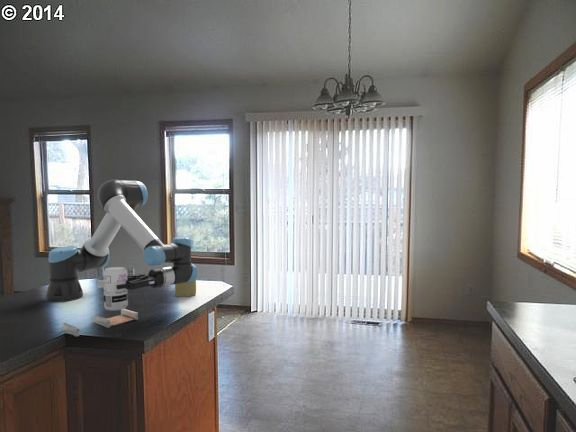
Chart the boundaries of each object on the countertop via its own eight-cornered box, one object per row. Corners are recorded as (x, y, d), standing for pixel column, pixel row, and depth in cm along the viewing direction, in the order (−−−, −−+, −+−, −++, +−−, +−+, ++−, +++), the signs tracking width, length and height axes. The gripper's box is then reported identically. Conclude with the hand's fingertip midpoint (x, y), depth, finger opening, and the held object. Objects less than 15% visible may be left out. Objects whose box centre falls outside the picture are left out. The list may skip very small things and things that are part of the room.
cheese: (173, 287, 204) (173, 258, 203) (192, 285, 207) (192, 257, 206) (174, 297, 183) (174, 265, 182) (196, 295, 186) (196, 264, 185)
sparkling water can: (108, 305, 151) (107, 266, 151) (130, 304, 152) (129, 266, 152) (100, 311, 143) (99, 270, 143) (124, 310, 144) (123, 270, 143)
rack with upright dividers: (62, 330, 137) (62, 323, 137) (123, 314, 156) (123, 308, 156) (76, 336, 131) (76, 329, 131) (137, 319, 150) (137, 312, 150)
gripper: (173, 290, 152) (113, 301, 137) (149, 282, 168) (93, 291, 152) (172, 271, 152) (112, 280, 136) (149, 265, 167) (92, 272, 151)
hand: (102, 286), depth 144 cm, fingers closed on sparkling water can, 8 cm apart
